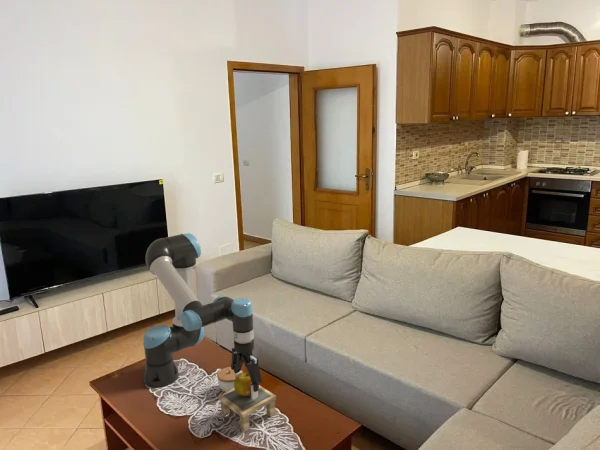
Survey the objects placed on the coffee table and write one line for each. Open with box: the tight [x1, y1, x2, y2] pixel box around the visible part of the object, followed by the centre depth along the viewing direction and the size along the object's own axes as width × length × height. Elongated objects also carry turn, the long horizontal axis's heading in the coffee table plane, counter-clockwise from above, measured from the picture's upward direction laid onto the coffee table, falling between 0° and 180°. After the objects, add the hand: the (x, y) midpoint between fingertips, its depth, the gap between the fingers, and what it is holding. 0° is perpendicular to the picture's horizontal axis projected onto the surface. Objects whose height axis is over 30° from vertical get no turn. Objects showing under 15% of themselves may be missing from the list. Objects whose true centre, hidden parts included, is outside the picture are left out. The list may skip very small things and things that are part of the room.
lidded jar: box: [216, 366, 244, 393], centre depth 196 cm, size 11×11×9 cm
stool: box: [218, 384, 277, 433], centre depth 179 cm, size 16×16×8 cm
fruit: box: [234, 371, 260, 396], centre depth 177 cm, size 10×9×8 cm
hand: (247, 392), depth 178 cm, fingers closed on fruit, 9 cm apart
